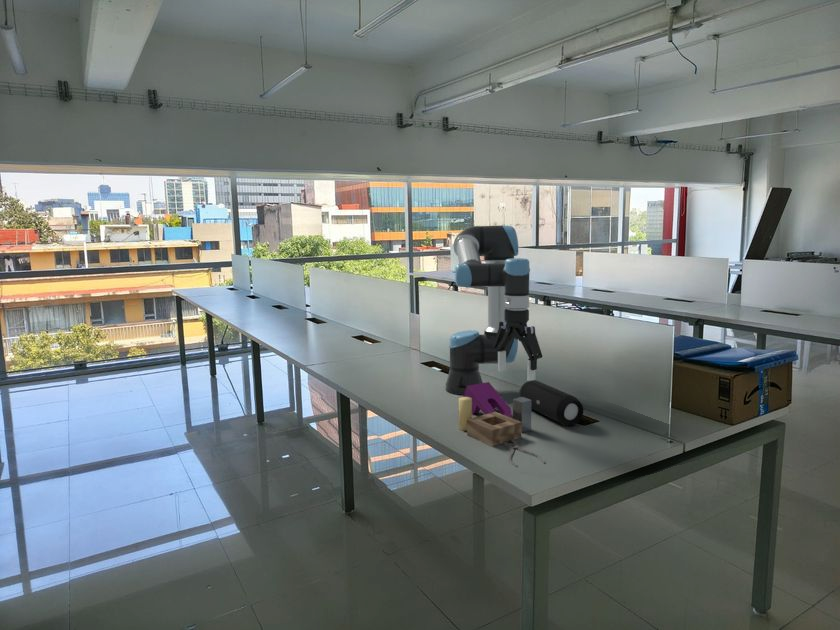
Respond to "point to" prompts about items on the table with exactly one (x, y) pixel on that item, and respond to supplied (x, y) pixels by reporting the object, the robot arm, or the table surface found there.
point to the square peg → (522, 412)
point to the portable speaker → (553, 402)
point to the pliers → (516, 446)
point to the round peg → (464, 412)
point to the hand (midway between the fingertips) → (516, 375)
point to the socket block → (494, 428)
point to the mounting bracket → (486, 399)
